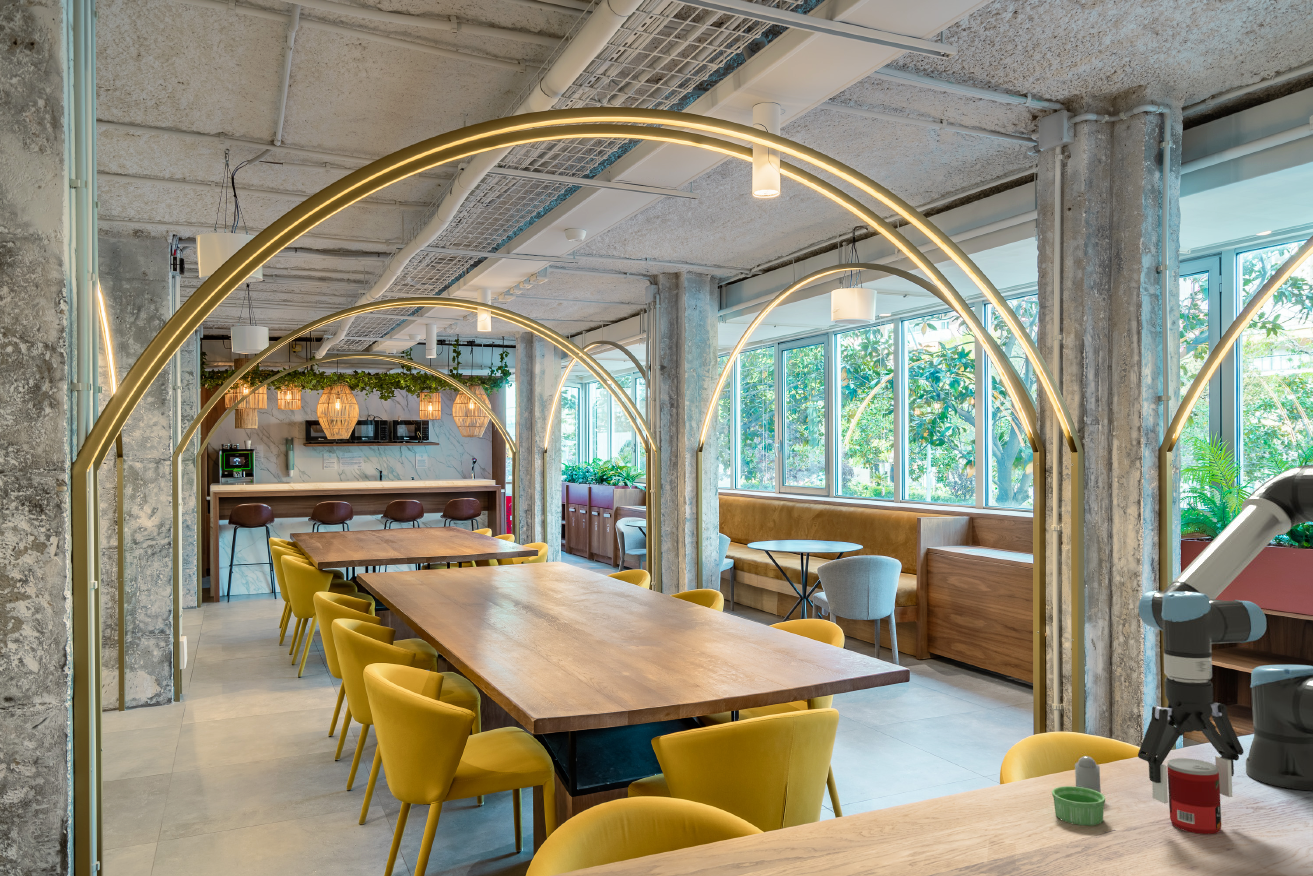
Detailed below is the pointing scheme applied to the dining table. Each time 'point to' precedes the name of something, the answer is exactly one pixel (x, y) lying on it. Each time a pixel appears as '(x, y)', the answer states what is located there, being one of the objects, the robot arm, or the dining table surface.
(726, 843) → the dining table surface
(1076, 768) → the pepper pot
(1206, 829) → the canned food
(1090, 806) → the ramekin
